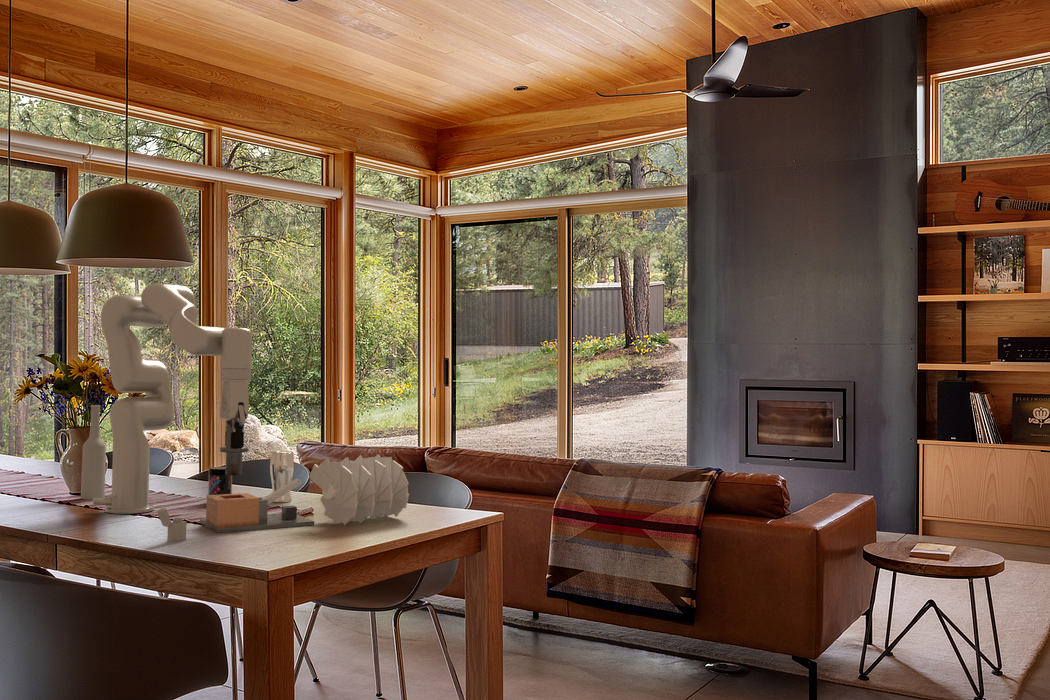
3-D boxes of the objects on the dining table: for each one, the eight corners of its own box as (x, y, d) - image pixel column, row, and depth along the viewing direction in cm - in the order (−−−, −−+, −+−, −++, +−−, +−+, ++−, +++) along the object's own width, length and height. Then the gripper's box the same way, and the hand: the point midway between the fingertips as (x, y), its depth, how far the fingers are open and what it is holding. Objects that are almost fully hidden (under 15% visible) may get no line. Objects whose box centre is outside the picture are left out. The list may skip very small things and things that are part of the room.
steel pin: (223, 476, 233) (224, 425, 233) (216, 473, 239) (217, 423, 239) (251, 475, 237) (252, 424, 237) (243, 472, 243) (244, 422, 243)
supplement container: (208, 501, 279) (209, 466, 279) (232, 500, 280) (233, 466, 281) (206, 504, 272) (207, 469, 272) (230, 504, 274) (231, 469, 274)
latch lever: (262, 507, 241) (259, 503, 240) (259, 506, 243) (257, 501, 242) (302, 483, 247) (299, 479, 246) (299, 482, 249) (296, 478, 248)
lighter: (181, 538, 220) (182, 504, 220) (186, 539, 219) (187, 505, 219) (155, 543, 214) (156, 508, 214) (160, 544, 213) (161, 509, 213)
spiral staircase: (404, 532, 257) (336, 539, 237) (366, 498, 267) (297, 503, 247) (429, 474, 253) (361, 477, 233) (389, 443, 263) (321, 443, 243)
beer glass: (267, 500, 283) (268, 451, 283) (290, 499, 286) (291, 450, 286) (271, 503, 277) (272, 453, 277) (294, 502, 280) (296, 452, 280)
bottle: (95, 500, 276) (98, 406, 277) (75, 499, 278) (78, 405, 278) (109, 497, 283) (112, 405, 283) (90, 496, 284) (93, 404, 285)
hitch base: (216, 533, 228) (217, 502, 228) (199, 523, 241) (200, 494, 241) (314, 525, 241) (315, 496, 242) (293, 516, 255) (294, 488, 255)
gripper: (212, 375, 243) (210, 445, 243) (230, 376, 229) (228, 450, 229) (241, 375, 247) (239, 444, 247) (260, 376, 233) (258, 449, 233)
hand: (234, 446), depth 238 cm, fingers closed on steel pin, 4 cm apart
